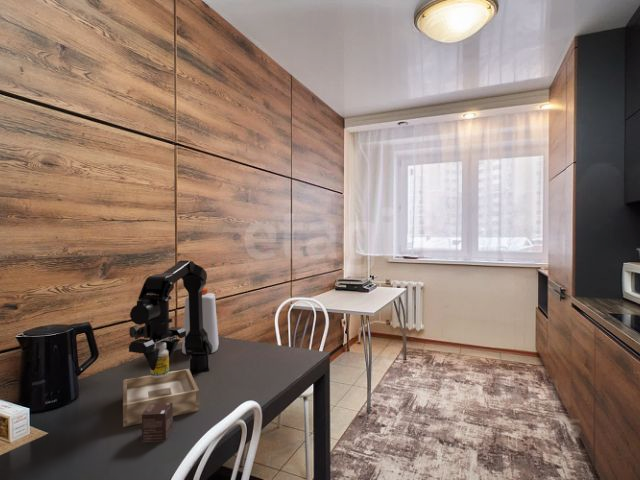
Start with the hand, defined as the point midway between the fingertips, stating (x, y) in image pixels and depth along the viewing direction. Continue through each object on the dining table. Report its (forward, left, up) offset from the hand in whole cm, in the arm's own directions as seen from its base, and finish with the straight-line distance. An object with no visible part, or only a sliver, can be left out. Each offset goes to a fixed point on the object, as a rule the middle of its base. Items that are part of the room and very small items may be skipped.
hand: (159, 366), depth 113 cm
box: (+2, +19, -12) cm, 23 cm away
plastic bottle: (-21, -49, -12) cm, 55 cm away
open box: (0, 0, -12) cm, 12 cm away
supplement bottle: (0, 0, -3) cm, 3 cm away
